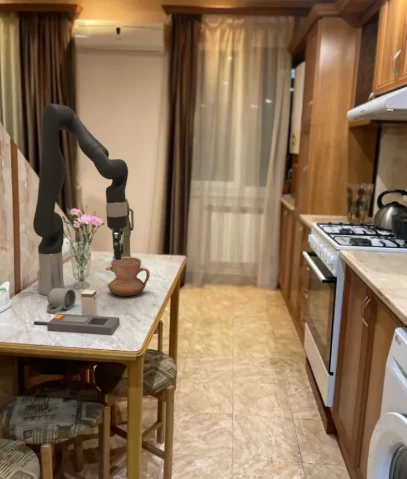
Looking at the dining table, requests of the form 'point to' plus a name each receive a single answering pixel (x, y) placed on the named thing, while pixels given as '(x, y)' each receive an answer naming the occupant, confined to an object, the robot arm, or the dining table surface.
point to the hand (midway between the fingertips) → (119, 256)
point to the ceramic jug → (127, 276)
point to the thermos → (126, 233)
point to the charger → (89, 302)
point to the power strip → (82, 324)
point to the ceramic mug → (61, 299)
